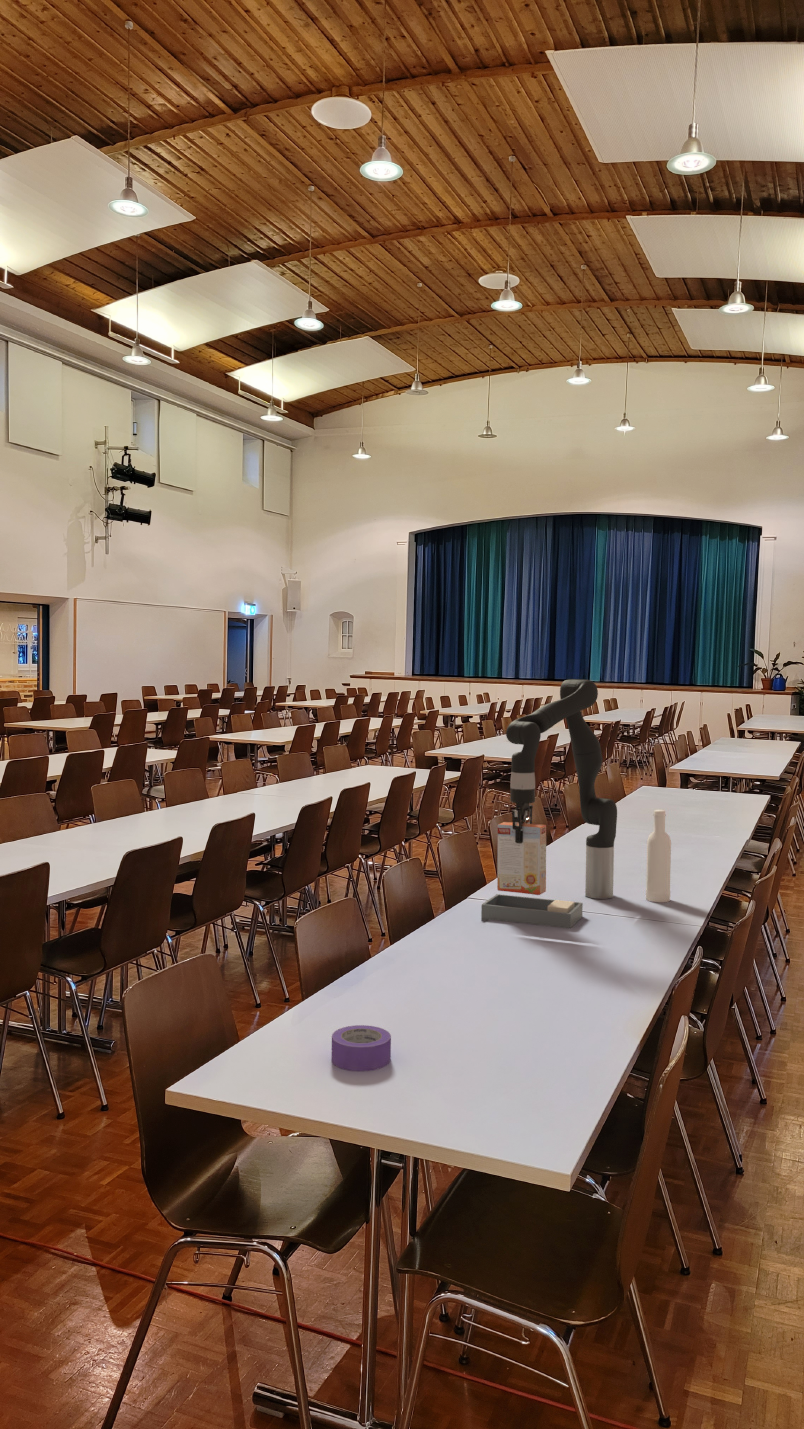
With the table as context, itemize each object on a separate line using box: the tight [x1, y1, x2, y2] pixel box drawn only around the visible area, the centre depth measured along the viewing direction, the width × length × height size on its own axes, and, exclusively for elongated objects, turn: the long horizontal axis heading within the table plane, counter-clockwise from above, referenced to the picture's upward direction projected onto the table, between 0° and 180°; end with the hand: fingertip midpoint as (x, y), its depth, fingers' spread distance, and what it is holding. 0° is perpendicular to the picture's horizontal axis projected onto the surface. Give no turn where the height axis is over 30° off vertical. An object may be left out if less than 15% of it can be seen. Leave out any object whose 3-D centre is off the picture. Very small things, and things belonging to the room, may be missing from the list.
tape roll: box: [330, 1024, 392, 1072], centre depth 199 cm, size 12×12×5 cm
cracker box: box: [496, 821, 547, 896], centre depth 308 cm, size 14×6×21 cm, turn 62°
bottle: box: [645, 809, 672, 904], centre depth 333 cm, size 8×8×30 cm
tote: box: [480, 893, 584, 929], centre depth 307 cm, size 15×28×5 cm, turn 67°
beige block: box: [547, 899, 575, 913], centre depth 304 cm, size 9×6×5 cm, turn 157°
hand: (522, 841), depth 307 cm, fingers closed on cracker box, 6 cm apart
